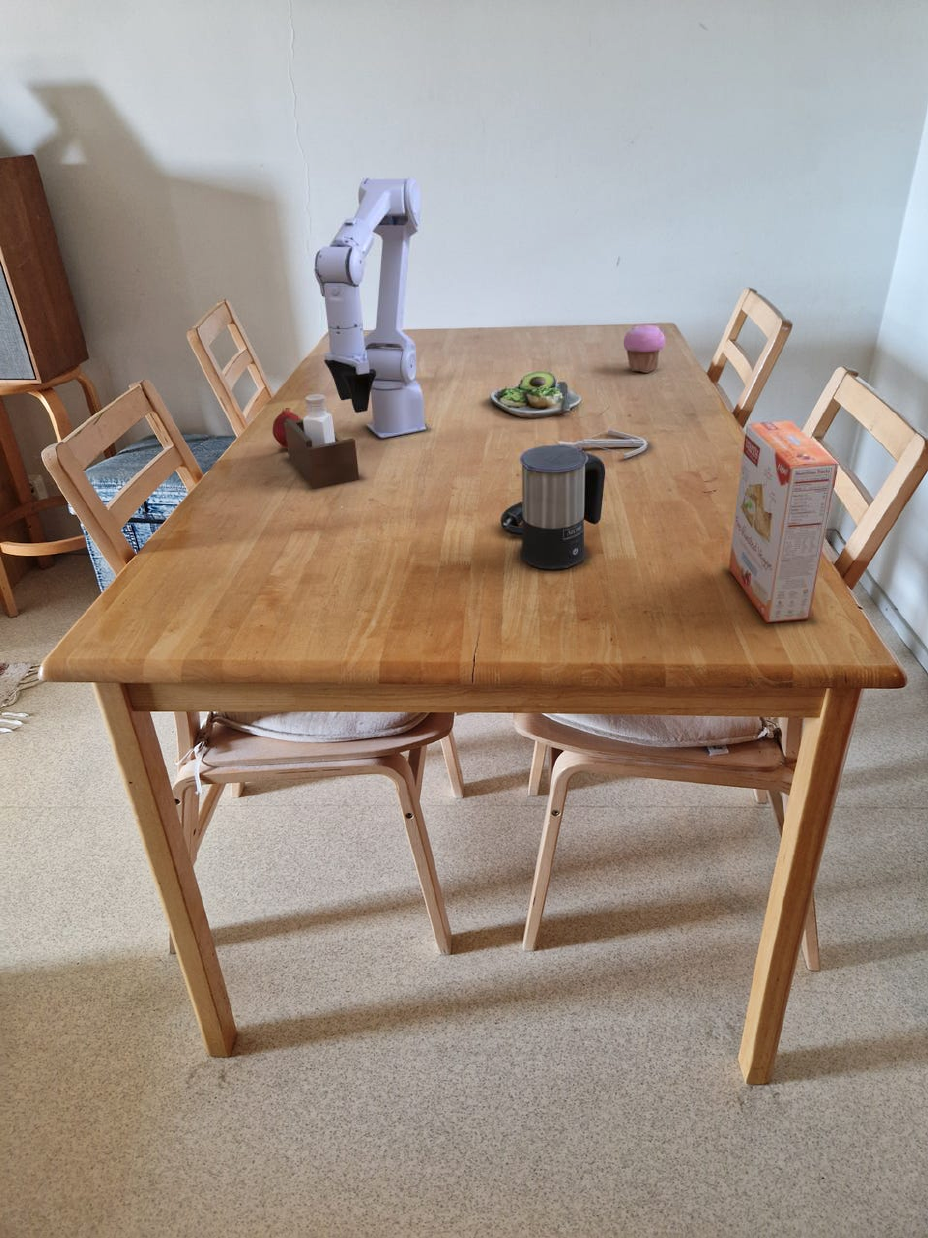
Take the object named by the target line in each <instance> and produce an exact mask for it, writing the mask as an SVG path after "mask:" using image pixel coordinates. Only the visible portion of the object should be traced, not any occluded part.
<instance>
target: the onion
mask: <svg viewBox="0 0 928 1238" xmlns="http://www.w3.org/2000/svg"><path fill="white" fill-rule="evenodd" d="M289 418H291V419H292V420H293V421H296V420H302V418H300V416H298V415H297V414H295V413H294V412H292V411H291V408H290V407H289V406H284V407H283V409H282V411H281V412H280V413H279V414H278V415H277V416H276V417H275V419H274V421H273V423H272V435H273V438H274V439H275V441H276V442H277V443H278V444H279V445H280V446H282V447H284V448H286V449H288V445H287V438H286V431H285V424H284V423H285V422H286V421H285V419H289Z"/></svg>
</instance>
